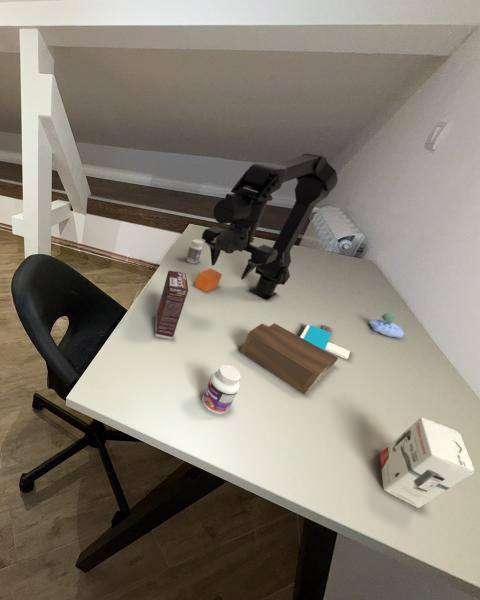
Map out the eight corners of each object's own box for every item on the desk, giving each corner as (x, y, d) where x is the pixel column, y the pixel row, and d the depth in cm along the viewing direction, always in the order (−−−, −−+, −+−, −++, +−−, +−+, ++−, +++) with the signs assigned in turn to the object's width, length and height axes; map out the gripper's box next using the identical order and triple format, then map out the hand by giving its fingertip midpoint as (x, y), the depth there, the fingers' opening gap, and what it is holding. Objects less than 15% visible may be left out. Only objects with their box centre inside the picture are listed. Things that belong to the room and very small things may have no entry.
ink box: (377, 452, 59) (420, 414, 52) (410, 467, 57) (459, 430, 50) (382, 491, 53) (431, 453, 46) (419, 510, 51) (476, 473, 44)
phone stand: (341, 376, 75) (345, 371, 74) (288, 350, 82) (291, 346, 81) (352, 339, 88) (356, 335, 87) (306, 320, 94) (308, 315, 93)
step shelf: (269, 331, 88) (280, 311, 84) (332, 366, 78) (347, 345, 74) (239, 351, 80) (249, 331, 76) (304, 394, 70) (320, 373, 66)
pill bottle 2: (197, 393, 68) (211, 361, 62) (220, 393, 68) (236, 361, 63) (207, 415, 63) (223, 382, 58) (232, 414, 64) (250, 382, 58)
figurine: (372, 333, 91) (387, 315, 87) (364, 320, 96) (378, 303, 93) (405, 341, 89) (421, 323, 85) (395, 328, 94) (410, 310, 90)
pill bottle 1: (196, 264, 120) (202, 244, 116) (184, 261, 122) (190, 241, 117) (199, 260, 124) (205, 241, 119) (187, 257, 126) (193, 237, 121)
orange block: (206, 280, 110) (210, 268, 107) (217, 286, 107) (222, 274, 105) (194, 285, 107) (198, 273, 104) (205, 292, 104) (210, 279, 101)
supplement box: (173, 340, 82) (189, 289, 73) (154, 336, 83) (168, 286, 74) (172, 320, 89) (186, 272, 80) (155, 317, 90) (167, 269, 81)
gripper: (197, 212, 81) (182, 265, 90) (268, 237, 69) (243, 295, 78) (221, 206, 87) (205, 256, 95) (290, 228, 75) (264, 283, 84)
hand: (227, 271), depth 88 cm, fingers open, 9 cm apart
